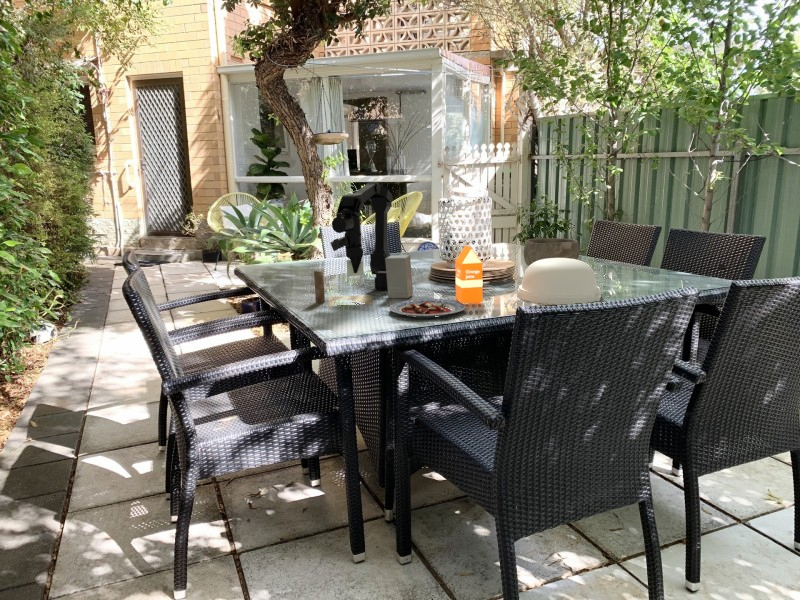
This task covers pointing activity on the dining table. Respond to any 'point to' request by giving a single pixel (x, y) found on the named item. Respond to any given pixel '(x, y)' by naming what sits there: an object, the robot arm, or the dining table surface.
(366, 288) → the dining table surface
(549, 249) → the bowl
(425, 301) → the ceramic plate
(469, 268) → the orange juice
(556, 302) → the dome cover
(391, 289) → the skincare box
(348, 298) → the board
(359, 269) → the grey green block
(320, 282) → the peg
